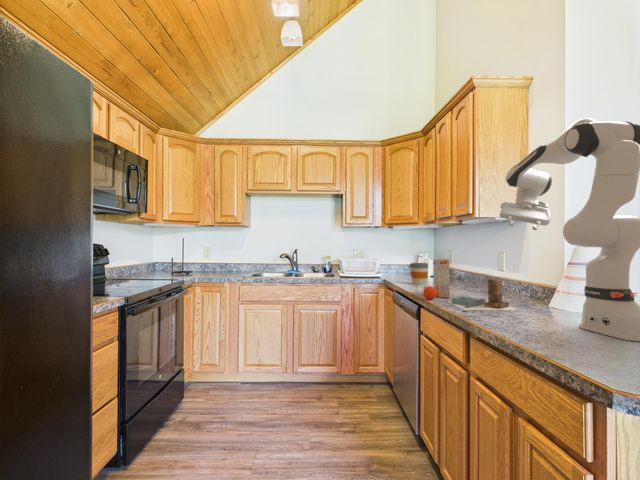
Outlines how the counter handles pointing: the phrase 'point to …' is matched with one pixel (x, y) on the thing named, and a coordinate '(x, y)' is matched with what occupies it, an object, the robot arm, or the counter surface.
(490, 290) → the stop bar
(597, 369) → the counter surface
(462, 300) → the index socket
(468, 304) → the jamb board
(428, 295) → the clementine
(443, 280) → the cracker box
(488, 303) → the keeper
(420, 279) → the reusable coffee cup
